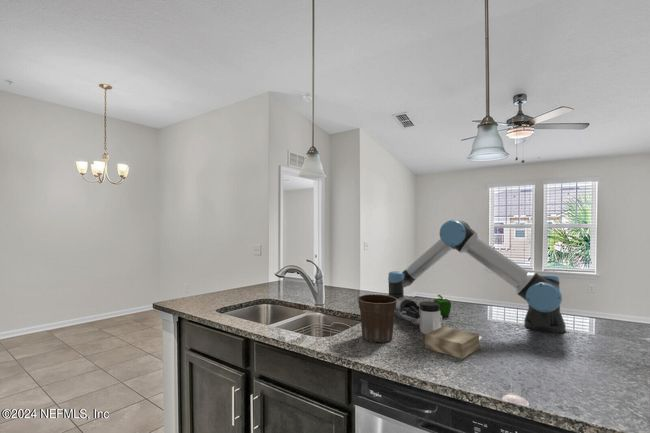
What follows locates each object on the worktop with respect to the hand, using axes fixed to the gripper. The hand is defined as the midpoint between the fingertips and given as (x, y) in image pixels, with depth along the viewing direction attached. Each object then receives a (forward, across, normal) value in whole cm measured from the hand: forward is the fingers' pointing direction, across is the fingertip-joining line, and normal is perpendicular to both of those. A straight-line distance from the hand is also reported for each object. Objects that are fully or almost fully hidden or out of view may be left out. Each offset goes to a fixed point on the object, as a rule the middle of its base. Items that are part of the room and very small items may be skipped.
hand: (437, 319), depth 137 cm
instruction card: (+7, -7, -6) cm, 12 cm away
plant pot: (-4, +26, -6) cm, 27 cm away
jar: (-4, +1, -6) cm, 7 cm away
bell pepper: (-23, -21, -6) cm, 32 cm away
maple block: (+15, +5, -6) cm, 17 cm away
